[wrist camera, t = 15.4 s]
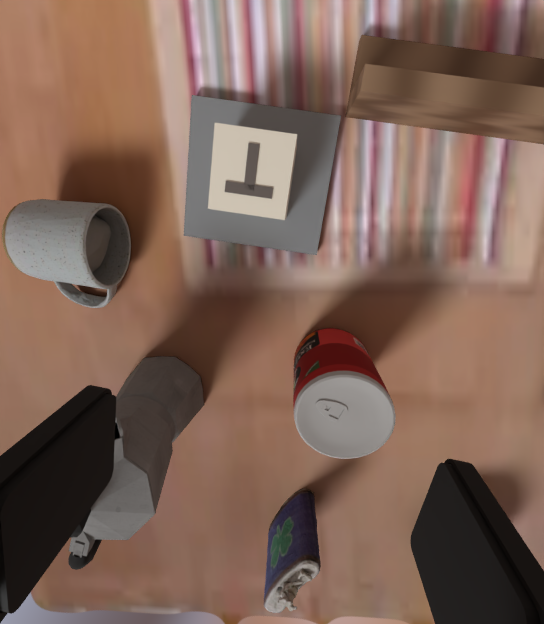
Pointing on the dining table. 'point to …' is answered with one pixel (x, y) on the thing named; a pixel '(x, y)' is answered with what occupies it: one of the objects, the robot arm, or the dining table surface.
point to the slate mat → (305, 181)
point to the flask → (291, 551)
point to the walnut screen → (448, 89)
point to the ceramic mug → (69, 246)
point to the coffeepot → (139, 451)
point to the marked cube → (251, 171)
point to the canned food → (340, 396)
